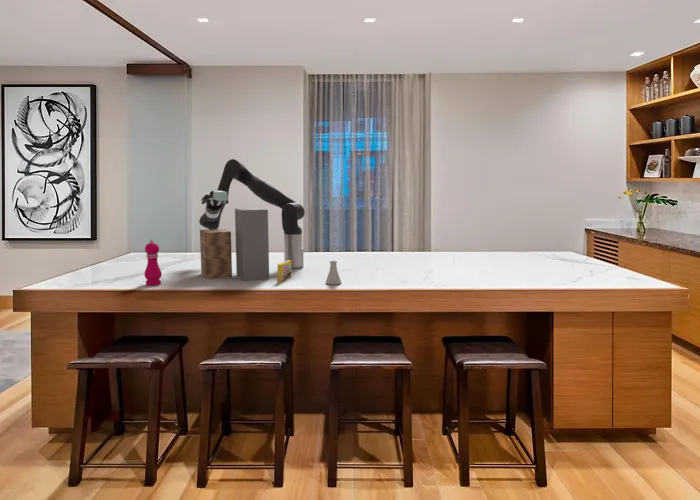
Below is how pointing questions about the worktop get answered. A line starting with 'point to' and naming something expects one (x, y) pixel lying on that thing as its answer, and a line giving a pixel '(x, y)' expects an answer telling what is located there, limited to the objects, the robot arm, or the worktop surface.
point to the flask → (333, 274)
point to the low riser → (216, 253)
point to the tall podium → (252, 243)
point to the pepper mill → (152, 264)
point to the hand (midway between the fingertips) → (217, 192)
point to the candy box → (284, 271)
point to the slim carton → (220, 195)
